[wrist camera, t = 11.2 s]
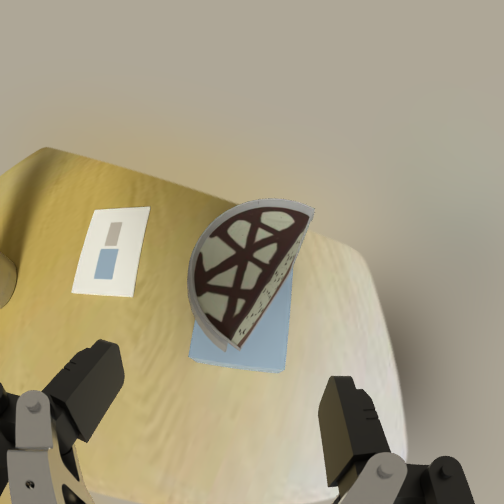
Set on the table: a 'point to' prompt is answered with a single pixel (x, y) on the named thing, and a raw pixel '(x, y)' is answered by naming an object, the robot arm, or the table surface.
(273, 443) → the table surface
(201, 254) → the food container
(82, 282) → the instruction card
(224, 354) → the base brick
